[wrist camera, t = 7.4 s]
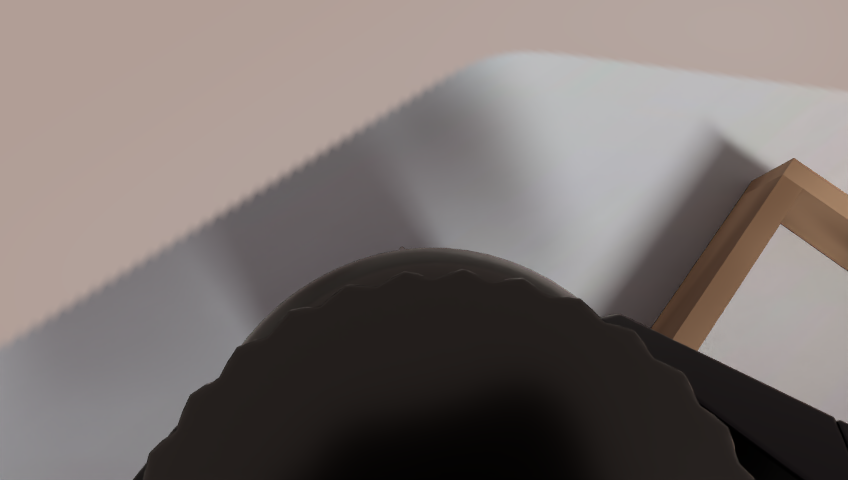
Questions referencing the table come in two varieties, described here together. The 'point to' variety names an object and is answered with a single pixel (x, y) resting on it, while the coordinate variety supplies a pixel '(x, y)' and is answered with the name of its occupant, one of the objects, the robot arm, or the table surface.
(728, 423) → the robot arm
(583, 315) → the supplement bottle
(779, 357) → the table surface
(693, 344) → the wooden square frame
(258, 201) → the table surface
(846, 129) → the table surface
